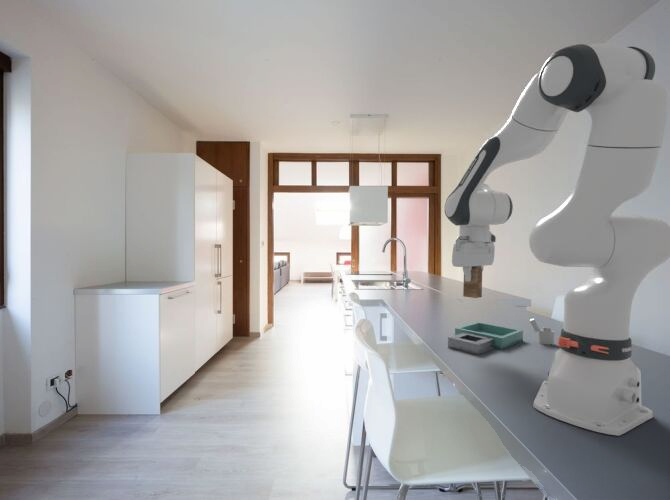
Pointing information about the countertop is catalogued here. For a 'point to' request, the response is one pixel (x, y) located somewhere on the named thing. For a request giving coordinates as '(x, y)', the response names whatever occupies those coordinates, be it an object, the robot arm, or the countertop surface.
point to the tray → (493, 333)
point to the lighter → (543, 333)
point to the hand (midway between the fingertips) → (473, 280)
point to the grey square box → (471, 343)
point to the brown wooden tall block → (473, 284)
